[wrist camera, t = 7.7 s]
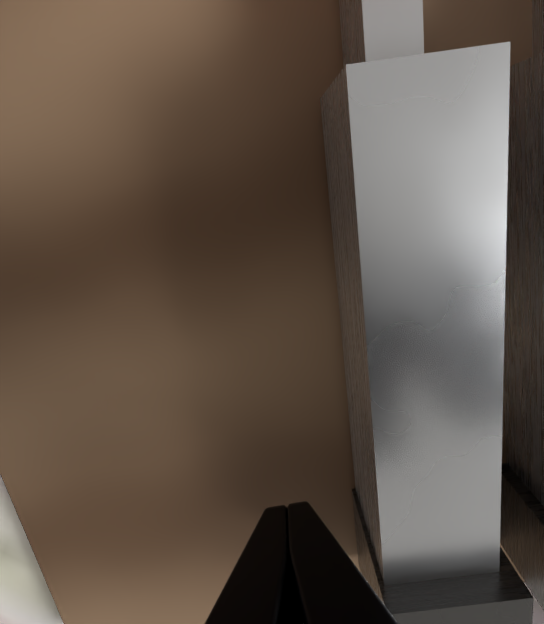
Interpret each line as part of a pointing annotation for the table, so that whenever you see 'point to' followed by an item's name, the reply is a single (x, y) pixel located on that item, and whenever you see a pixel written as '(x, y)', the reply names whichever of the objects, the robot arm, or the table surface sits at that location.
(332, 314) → the board
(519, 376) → the tongs fixed
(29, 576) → the table surface
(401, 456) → the tongs jaw
